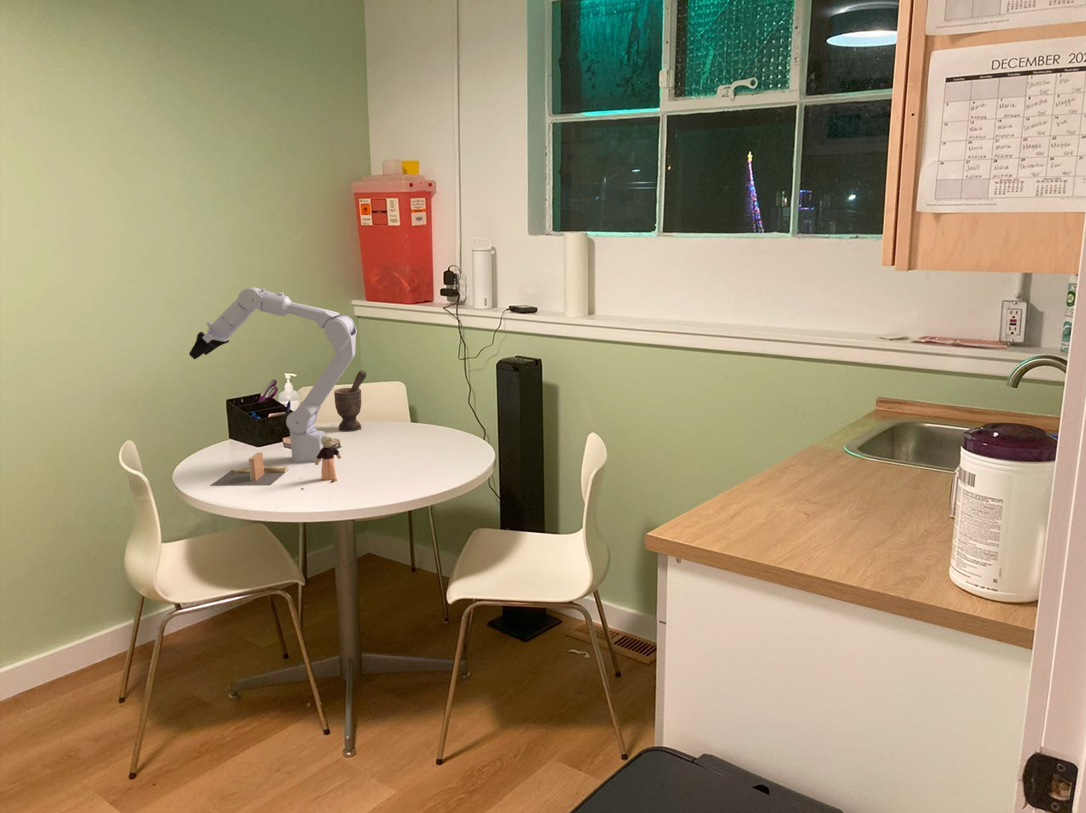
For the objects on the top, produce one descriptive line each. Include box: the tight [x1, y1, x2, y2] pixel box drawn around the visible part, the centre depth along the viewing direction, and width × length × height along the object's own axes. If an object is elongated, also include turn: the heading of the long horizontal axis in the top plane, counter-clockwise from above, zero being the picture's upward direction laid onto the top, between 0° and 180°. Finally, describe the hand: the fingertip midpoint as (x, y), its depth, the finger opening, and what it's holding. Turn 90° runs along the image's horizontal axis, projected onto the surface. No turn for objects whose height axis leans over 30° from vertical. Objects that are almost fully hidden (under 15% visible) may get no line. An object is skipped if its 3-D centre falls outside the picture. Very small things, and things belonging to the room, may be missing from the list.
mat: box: [209, 469, 287, 487], centre depth 232 cm, size 16×14×1 cm
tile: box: [248, 452, 265, 481], centre depth 231 cm, size 1×6×6 cm, turn 177°
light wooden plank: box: [234, 465, 289, 474], centre depth 236 cm, size 14×3×1 cm, turn 87°
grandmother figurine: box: [314, 433, 342, 483], centre depth 228 cm, size 8×4×13 cm, turn 148°
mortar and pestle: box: [333, 369, 367, 432], centre depth 283 cm, size 12×9×20 cm
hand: (197, 354), depth 242 cm, fingers open, 7 cm apart
